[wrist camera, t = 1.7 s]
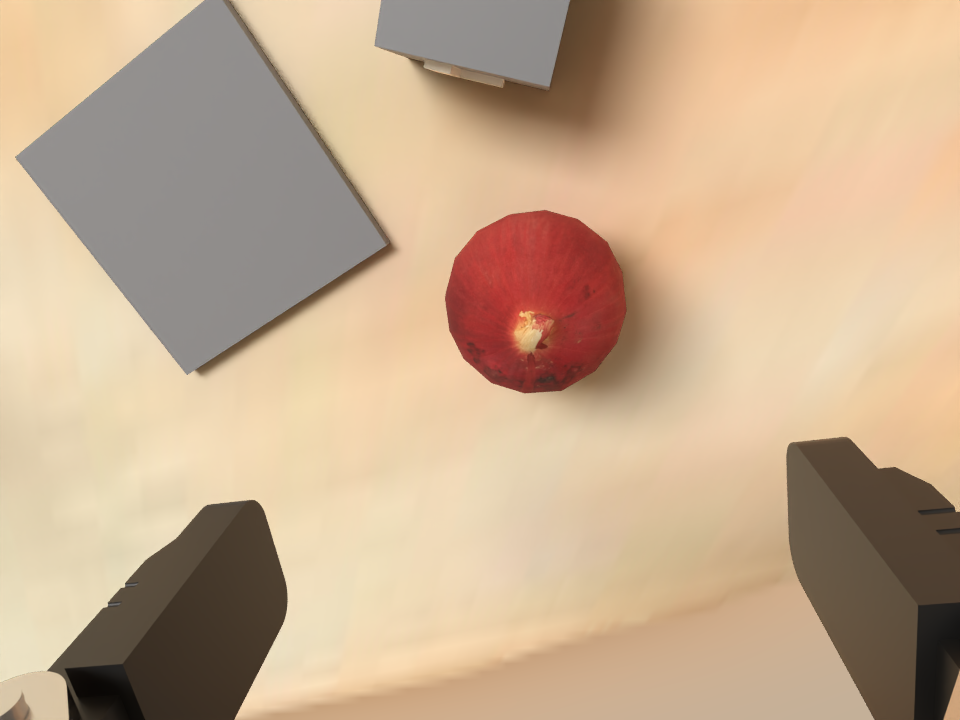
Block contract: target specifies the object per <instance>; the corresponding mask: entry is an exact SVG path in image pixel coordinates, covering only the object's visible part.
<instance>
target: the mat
mask: <svg viewBox="0 0 960 720" xmlns="http://www.w3.org/2000/svg"><path fill="white" fill-rule="evenodd" d="M15 158H16V159H17V160H18V162H19V163H20V164H21V165H22V167H23V168H24V169H25V170H26V172H27V173H28V174H29V175H30V177H31V178H32V179H33V181H34V182H35V183H36V184H37V186H38V187H39V188H40V189H41V191H42V192H43V193H44V194H45V196H46V197H47V198H48V200H49V201H50V202H51V203H52V205H53V206H54V207H55V208H56V210H57V211H58V212H59V213H60V215H61V216H62V217H63V219H64V220H65V221H66V222H67V224H68V225H69V226H70V227H71V229H72V230H73V231H74V232H75V234H76V235H77V236H78V238H79V239H80V240H81V241H82V243H83V244H84V245H85V246H86V248H87V249H88V250H89V251H90V253H91V254H92V255H93V257H94V258H95V259H96V260H97V262H98V263H99V264H100V265H101V267H102V268H103V269H104V270H105V272H106V273H107V274H108V276H109V277H110V278H111V279H112V281H113V282H114V283H115V284H116V286H117V287H118V288H119V289H120V291H121V292H122V293H123V295H124V296H125V297H126V298H127V300H128V301H129V302H130V303H131V305H132V306H133V307H134V308H135V310H136V311H137V312H138V314H139V315H140V316H141V317H142V319H143V320H144V321H145V322H146V324H147V325H148V326H149V327H150V329H151V330H152V331H153V333H154V334H155V335H156V336H157V338H158V339H159V340H160V341H161V343H162V344H163V345H164V346H165V348H166V349H167V350H168V352H169V353H170V354H171V355H172V357H173V358H174V359H175V360H176V362H177V363H178V364H179V365H180V367H181V368H182V369H183V371H184V372H185V373H186V374H187V375H188V374H189V373H191V372H192V371H194V370H196V369H197V368H199V367H200V366H202V365H203V364H205V363H206V362H208V361H209V360H211V359H212V358H214V357H216V356H217V355H219V354H220V353H222V352H223V351H225V350H226V349H228V348H229V347H231V346H232V345H234V344H236V343H237V342H239V341H240V340H242V339H243V338H245V337H246V336H248V335H249V334H251V333H253V332H254V331H256V330H257V329H259V328H260V327H262V326H263V325H265V324H266V323H268V322H269V321H271V320H273V319H274V318H276V317H277V316H279V315H280V314H282V313H283V312H285V311H286V310H288V309H289V308H291V307H293V306H294V305H296V304H297V303H299V302H300V301H302V300H303V299H305V298H306V297H308V296H309V295H311V294H313V293H314V292H316V291H317V290H319V289H320V288H322V287H323V286H325V285H326V284H328V283H329V282H331V281H333V280H334V279H336V278H337V277H339V276H340V275H342V274H343V273H345V272H346V271H348V270H349V269H351V268H353V267H354V266H356V265H357V264H359V263H360V262H362V261H363V260H365V259H366V258H368V257H370V256H371V255H373V254H374V253H376V252H377V251H379V250H380V249H382V248H383V247H385V246H386V245H388V244H389V243H390V241H389V240H388V238H387V237H386V235H385V234H384V232H383V231H382V229H381V228H380V226H379V225H378V223H377V222H376V220H375V219H374V217H373V216H372V214H371V213H370V211H369V210H368V208H367V207H366V205H365V204H364V202H363V201H362V199H361V198H360V196H359V195H358V193H357V192H356V190H355V189H354V187H353V186H352V184H351V183H350V181H349V180H348V178H347V177H346V175H345V174H344V172H343V171H342V169H341V168H340V167H339V165H338V164H337V162H336V161H335V159H334V158H333V156H332V155H331V153H330V152H329V150H328V149H327V147H326V146H325V144H324V143H323V141H322V140H321V138H320V137H319V135H318V134H317V132H316V131H315V129H314V128H313V126H312V125H311V123H310V122H309V120H308V119H307V117H306V116H305V114H304V113H303V111H302V110H301V108H300V107H299V105H298V104H297V102H296V101H295V99H294V98H293V96H292V95H291V93H290V92H289V90H288V89H287V87H286V86H285V84H284V83H283V81H282V80H281V78H280V77H279V75H278V74H277V72H276V71H275V69H274V68H273V66H272V65H271V63H270V62H269V60H268V59H267V57H266V56H265V54H264V53H263V51H262V50H261V48H260V47H259V45H258V44H257V42H256V41H255V39H254V38H253V36H252V35H251V33H250V32H249V30H248V29H247V27H246V26H245V24H244V23H243V21H242V20H241V18H240V17H239V15H238V14H237V12H236V11H235V9H234V8H233V6H232V5H231V3H230V2H229V0H204V1H203V2H202V3H201V4H200V5H198V6H197V7H196V8H195V9H194V10H192V11H191V12H190V13H189V14H188V15H186V16H185V17H184V18H183V19H182V20H180V21H179V22H178V23H177V24H175V25H174V26H173V27H172V28H171V29H169V30H168V31H167V32H166V33H165V34H163V35H162V36H161V37H160V38H159V39H157V40H156V41H155V42H154V43H153V44H151V45H150V46H149V47H148V48H146V49H145V50H144V51H143V52H142V53H140V54H139V55H138V56H137V57H136V58H134V59H133V60H132V61H131V62H130V63H128V64H127V65H126V66H125V67H123V68H122V69H121V70H120V71H119V72H117V73H116V74H115V75H114V76H113V77H111V78H110V79H109V80H108V81H107V82H105V83H104V84H103V85H102V86H101V87H99V88H98V89H97V90H96V91H94V92H93V93H92V94H91V95H90V96H88V97H87V98H86V99H85V100H84V101H82V102H81V103H80V104H79V105H78V106H76V107H75V108H74V109H73V110H72V111H70V112H69V113H68V114H67V115H65V116H64V117H63V118H62V119H61V120H59V121H58V122H57V123H56V124H55V125H53V126H52V127H51V128H50V129H49V130H47V131H46V132H45V133H44V134H43V135H41V136H40V137H39V138H38V139H36V140H35V141H34V142H33V143H32V144H30V145H29V146H28V147H27V148H26V149H24V150H23V151H22V152H21V153H20V154H18V155H17V156H16V157H15Z"/></svg>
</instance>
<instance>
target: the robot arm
mask: <svg viewBox="0 0 960 720" xmlns="http://www.w3.org/2000/svg"><path fill="white" fill-rule="evenodd" d="M787 492H788V523H789V543H790V550H791V555H792V560H793V564H794V567H795V571H796V574H797V576H798V579H799V581H800V583H801V585H802V587H803V589H804V591H805V593H806V594H807V596H808V598H809V600H810V602H811V603H812V605H813V607H814V609H815V611H816V613H817V615H818V616H819V618H820V620H821V622H822V624H823V626H824V627H825V629H826V631H827V633H828V635H829V636H830V638H831V640H832V642H833V644H834V646H835V648H836V649H837V651H838V653H839V655H840V657H841V659H842V661H843V662H844V664H845V666H846V668H847V670H848V671H849V673H850V675H851V677H852V679H853V681H854V683H855V684H856V686H857V688H858V690H859V691H860V694H861V696H862V697H863V699H864V701H865V703H866V705H867V707H868V708H869V710H870V712H871V714H872V716H873V718H874V719H875V720H960V512H956V511H955V507H954V506H953V505H952V504H951V503H950V502H949V501H948V500H947V499H946V498H945V497H944V496H943V495H941V494H940V493H939V492H938V491H937V490H936V489H935V488H934V487H933V486H932V485H931V484H929V483H927V482H925V481H923V480H921V479H919V478H917V477H914V476H912V475H910V474H908V473H906V472H904V471H902V470H900V469H898V468H896V467H892V468H882V469H878V468H877V467H876V466H875V465H874V464H873V463H872V462H871V461H870V460H869V459H868V458H867V457H866V455H865V454H864V453H863V452H862V451H861V450H860V449H859V448H858V447H857V446H856V445H855V444H854V443H853V442H852V441H851V440H850V439H849V438H847V437H839V438H830V439H821V440H812V441H802V442H793V443H790V444H789V446H788V449H787ZM286 611H287V587H286V582H285V578H284V575H283V572H282V568H281V565H280V562H279V558H278V555H277V552H276V548H275V545H274V542H273V539H272V535H271V532H270V529H269V525H268V522H267V519H266V515H265V513H264V510H263V508H262V507H261V505H260V504H259V503H258V502H257V501H255V500H247V501H238V502H229V503H220V504H211V505H207V506H205V507H204V508H203V509H202V510H201V511H200V512H199V513H198V514H197V515H196V516H195V518H194V519H193V520H192V521H191V522H190V523H189V525H188V526H187V527H186V528H185V529H184V530H183V532H182V533H181V534H180V535H179V536H178V537H177V538H176V539H175V540H174V541H172V542H171V543H169V544H168V545H167V546H165V547H164V548H162V549H161V550H160V551H158V552H157V553H155V554H154V555H152V556H151V557H150V558H148V559H147V560H145V562H144V563H143V564H142V565H141V566H140V567H139V568H138V569H137V571H136V572H135V573H134V574H133V575H132V576H131V577H130V578H129V580H128V581H127V582H126V583H125V588H121V589H120V590H119V591H118V592H117V593H116V594H115V595H114V596H113V598H112V599H111V600H110V601H109V602H108V607H106V608H103V609H102V610H101V611H100V612H99V613H98V614H97V615H96V617H95V618H94V619H93V620H92V621H91V622H90V623H89V624H88V626H87V627H86V628H85V629H84V630H83V631H82V632H81V633H80V635H79V636H78V637H77V638H76V639H75V640H74V641H73V642H72V644H71V645H70V646H69V647H68V648H67V649H66V650H65V651H64V653H63V654H62V655H61V656H60V657H59V658H58V659H57V660H56V662H55V663H54V664H53V665H52V666H51V667H50V668H49V669H48V671H40V672H32V673H27V674H23V675H20V676H17V677H13V678H11V679H8V680H6V681H3V682H1V683H0V720H234V719H235V717H236V715H237V713H238V711H239V709H240V707H241V705H242V703H243V701H244V699H245V697H246V695H247V693H248V691H249V689H250V687H251V686H252V684H253V682H254V680H255V678H256V676H257V674H258V672H259V670H260V668H261V666H262V664H263V662H264V660H265V658H266V656H267V654H268V652H269V650H270V648H271V646H272V644H273V642H274V641H275V639H276V637H277V635H278V633H279V631H280V629H281V627H282V625H283V622H284V619H285V616H286Z"/></svg>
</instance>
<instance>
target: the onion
mask: <svg viewBox="0 0 960 720" xmlns="http://www.w3.org/2000/svg"><path fill="white" fill-rule="evenodd" d="M445 301H446V308H447V316H448V323H449V330H450V332H451V334H452V336H453V338H454V340H455V342H456V344H457V346H458V348H459V350H460V352H461V354H462V356H463V358H464V359H465V360H466V361H467V362H468V363H469V364H470V365H472V366H473V367H474V368H475V369H476V370H477V371H478V372H480V373H481V374H482V375H483V376H484V377H485V378H486V379H488V380H489V381H490V382H491V383H493V384H497V385H500V386H503V387H506V388H509V389H513V390H516V391H519V392H522V393H536V392H550V391H562V390H564V389H565V388H567V387H569V386H570V385H572V384H574V383H575V382H577V381H579V380H580V379H582V378H584V377H585V376H587V375H589V374H591V373H592V372H594V371H595V370H596V369H597V368H598V367H599V365H600V364H601V363H602V361H603V360H604V359H605V357H606V356H607V355H608V354H609V352H610V351H611V350H612V348H613V347H614V346H615V345H616V343H617V340H618V337H619V334H620V331H621V327H622V324H623V321H624V318H625V314H626V302H625V293H624V284H623V275H622V271H621V269H620V267H619V265H618V263H617V261H616V259H615V257H614V255H613V253H612V251H611V249H610V247H609V245H608V243H607V242H606V241H605V240H604V239H603V238H601V237H600V236H599V235H597V234H596V233H595V232H594V231H592V230H591V229H590V228H589V227H587V226H586V225H585V224H583V223H582V222H581V221H580V220H578V219H575V218H572V217H568V216H565V215H561V214H557V213H554V212H550V211H546V210H543V211H534V212H526V213H517V214H511V215H508V216H506V217H504V218H502V219H500V220H498V221H496V222H494V223H492V224H490V225H488V226H486V227H485V228H483V229H481V230H479V231H477V232H476V233H475V235H474V236H473V237H472V238H471V240H470V241H469V242H468V243H467V244H466V246H465V247H464V248H463V249H462V250H461V252H460V253H459V254H458V255H457V256H456V258H455V260H454V264H453V268H452V272H451V275H450V279H449V283H448V287H447V291H446V296H445Z"/></svg>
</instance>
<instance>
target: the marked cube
mask: <svg viewBox="0 0 960 720" xmlns="http://www.w3.org/2000/svg"><path fill="white" fill-rule="evenodd" d="M569 4H570V0H381V6H380V13H379V19H378V26H377V33H376V39H375V46H376V47H379V48H381V49H384V50H387V51H390V52H393V53H395V54H398V55H401V56H404V57H407V58H410V59H415V60H419V61H423V62H424V68H426V69H429V70H432V71H435V72H438V73H442V74H446V75H450V76H455V77H459V78H463V79H467V80H472V81H476V82H480V83H485V84H489V85H493V86H497V87H502V88H503V87H504V82H505V81H509V82H513V83H518V84H522V85H526V86H530V87H535V88H539V89H543V90H548V91H549V88H550V84H551V80H552V75H553V71H554V67H555V63H556V58H557V54H558V50H559V46H560V42H561V37H562V33H563V29H564V25H565V20H566V16H567V12H568V8H569Z"/></svg>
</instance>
